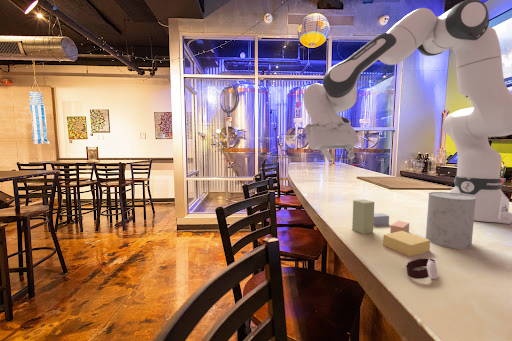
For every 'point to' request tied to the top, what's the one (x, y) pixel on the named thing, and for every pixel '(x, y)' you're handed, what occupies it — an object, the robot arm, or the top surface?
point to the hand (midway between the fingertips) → (341, 158)
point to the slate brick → (381, 219)
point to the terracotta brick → (400, 227)
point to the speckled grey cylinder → (450, 219)
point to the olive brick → (363, 216)
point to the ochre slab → (406, 243)
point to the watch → (428, 272)
